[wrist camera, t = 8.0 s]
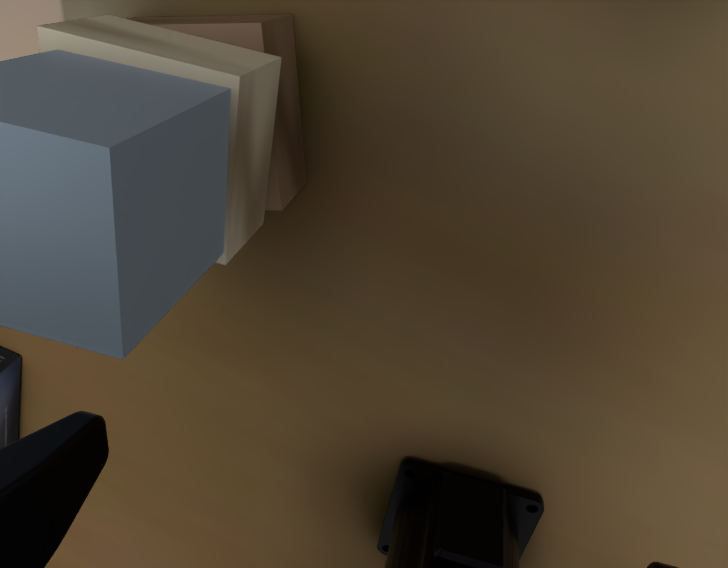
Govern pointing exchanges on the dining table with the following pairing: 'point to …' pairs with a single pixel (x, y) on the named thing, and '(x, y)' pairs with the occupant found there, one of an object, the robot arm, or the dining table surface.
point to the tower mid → (206, 64)
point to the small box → (9, 396)
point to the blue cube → (105, 196)
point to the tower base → (278, 40)
